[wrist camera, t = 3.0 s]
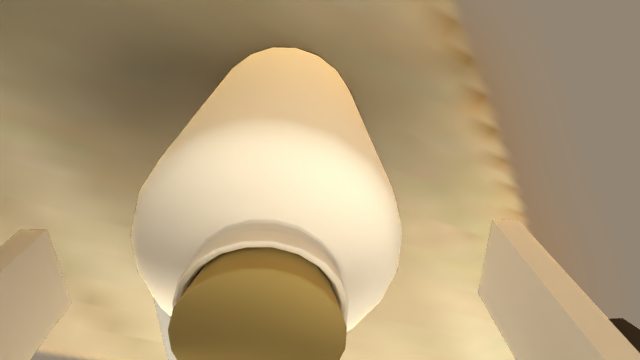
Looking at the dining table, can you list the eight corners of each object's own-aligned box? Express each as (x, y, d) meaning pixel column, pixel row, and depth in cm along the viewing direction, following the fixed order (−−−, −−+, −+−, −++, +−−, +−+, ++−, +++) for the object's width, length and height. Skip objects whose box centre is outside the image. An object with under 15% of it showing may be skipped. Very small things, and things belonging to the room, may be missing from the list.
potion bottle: (189, 112, 25) (-9, 343, 9) (285, 11, 23) (245, 83, 7) (286, 197, 28) (265, 489, 12) (379, 115, 26) (509, 338, 10)
